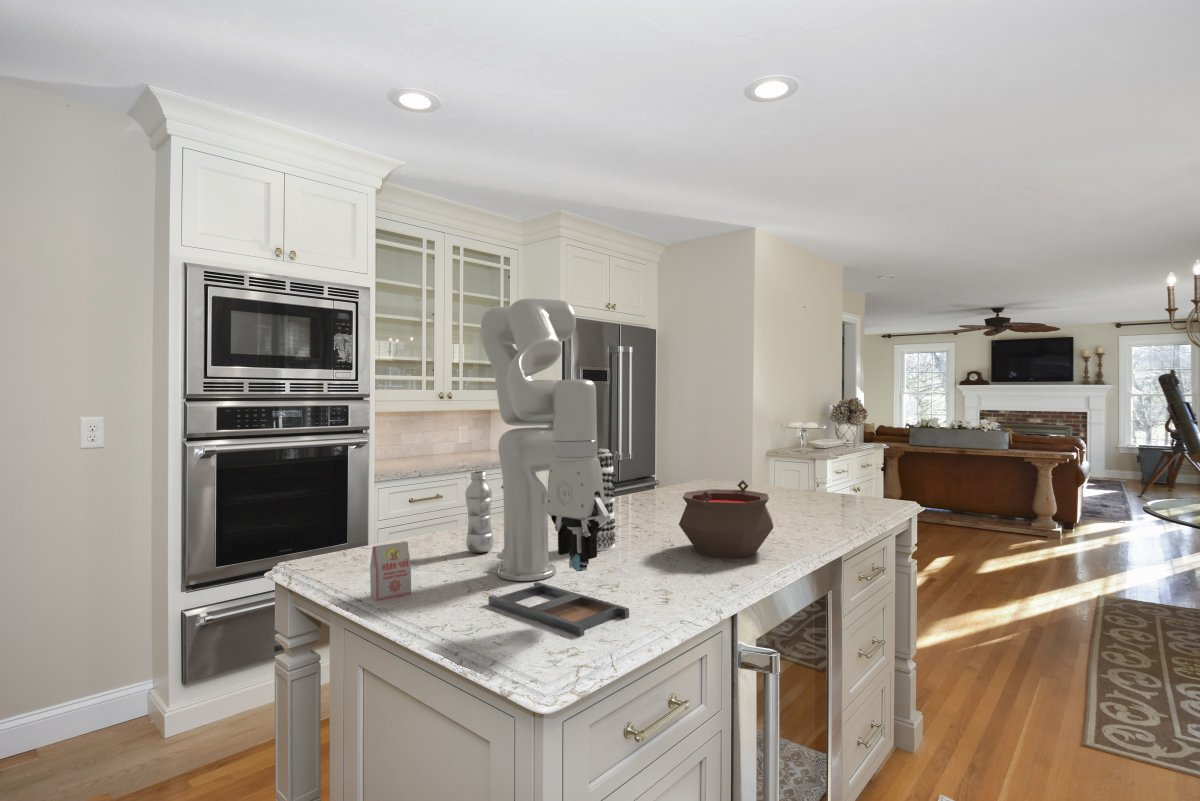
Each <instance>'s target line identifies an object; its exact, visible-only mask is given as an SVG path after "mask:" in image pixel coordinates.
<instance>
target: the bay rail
mask: <svg viewBox="0 0 1200 801" xmlns="http://www.w3.org/2000/svg"><path fill="white" fill-rule="evenodd" d="M542 594H543V595H547V596H550V597H553V598H554V599H551V600H548V601H545V602H542V603H539V604H536V605H532V606H530V607H529V606H526V605H523V604H521V603H518V601H519V602H520V601H522V600H525V599H528V598H532V597H536V596H538V595H542ZM487 597H488V606H492V607H495V608H497V609H500V610H502V611H506V612H509V613H511V614H514V615H517V616H520V617H522V618H525V619H529V620H532V621H534V622H537V623H540V624H543V625H546V626H548V627H551V628H555V629H557V630H560V631H563V632H565V633H569V634H572V635H573V636H576V637H579V638H581V637H582V636H583V637H584V636H585V630H588V629H591V628H594V627H596V626H598V625H601V624H603V623H606V622H608V621H611V620H613V619H614V620H615V619H616V618H623V619H627V618H630V608H629V607H626V606H623V605H619V604H615V603H612V602H608V601H605V600H601V599H597V598H594V597H591V596H588V595H584V594H580V593H578V592H577V593H576V592H573V591H569V590H568V589H567V590H566V589H563V588H560V587H556V586H553V585H549V584H545V583H542V582H540V581H539V582H538V581H537V582H534V583H533V586H530V587H527V588H523V589H519V590H516V591H512V592H510V593H506V594H502V595H499V596H496V595H494V594H492V595H489V596H487Z"/></svg>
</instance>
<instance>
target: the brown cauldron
mask: <svg viewBox="0 0 1200 801" xmlns="http://www.w3.org/2000/svg"><path fill="white" fill-rule="evenodd" d="M742 485H744V487H743V486H742ZM737 487H738V489H718V488H717V489H713V488H711V489H701V490H694V491H692V490H691V491H686V492H685V493H684V494H683V496H682V499H683V500H684V502H685V503H686V504H685V505H686V506H685V507H684V510H683V513H682V514H681V518H680V520H679V523H678V526H679V527H680V529H681V530H682V532H683V533H684V534H685V536H686V537H687V539H688V540H689V541H690V544H692V546H693V547H694V549H695V550H696V552H697V553H698V554H702V555H705V556H708V557H711V558H716V559H717V558H719V559H720V558H721V559H722V558H723V559H724V558H725V559H741V558H747V557H751V556H755V555H756V553H757V552H758V550H759V549H760V547H761V546H762V544H763V543H764V542H765V541H766V539H767V538H768V536H769V534H771V532H772V531H773V529H774V522H773V518H772V516H771V514H770V512H769V509H768V507H767V505H766V504H767V503H768V501H769V500H770V497H769V494H768V493H763V492H758V491H753V490H747V488H749V485H748V484H747V483H746V482H745V480H744V479H742V480H741V481H740V482H739V483H738V484H737Z"/></svg>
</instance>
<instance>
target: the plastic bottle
mask: <svg viewBox="0 0 1200 801" xmlns="http://www.w3.org/2000/svg"><path fill="white" fill-rule="evenodd" d="M470 480H471V481H470V483H469V485H468V486H467V488H466V490H465V493H464V495H465V503H466V507H467V515H468V516H467V519H468V520H467V521H468V522H467V524H468V525H467V533H466V539H465V540H466V541H465V543H466V548H467V550H468V551H469V552H470V553H478V554H481V553H485V552H486V553H487V552H490V551H491V550H492V549H493V547H494V541H495V540H494V536H493V532H492V522H491V509H492V508H491V506H492V499H493V498H492V496H493V491H492V488H491V487H490V485H489V484H488V483H487V482H486V480H487V471H484V470H479V471H478V470H477V471H471V472H470Z"/></svg>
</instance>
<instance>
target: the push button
mask: <svg viewBox="0 0 1200 801" xmlns="http://www.w3.org/2000/svg"><path fill="white" fill-rule="evenodd" d="M588 517H589V516H588ZM562 519H563V525H564V526H567V528H568V529H572V540H571V547H569V553H568V557H569V558H568V567H569V569H570V570H571V569H574V570H575V571H576V572H582V571H583V572H585V571H588V565H589V564H590V561H589V560H590V559H589V560H582V555H581V536H583V528H582V523H581V520H578V519H571V518H565V517H562ZM588 522H589V525H591V521H590V520H589V521H588Z"/></svg>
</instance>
